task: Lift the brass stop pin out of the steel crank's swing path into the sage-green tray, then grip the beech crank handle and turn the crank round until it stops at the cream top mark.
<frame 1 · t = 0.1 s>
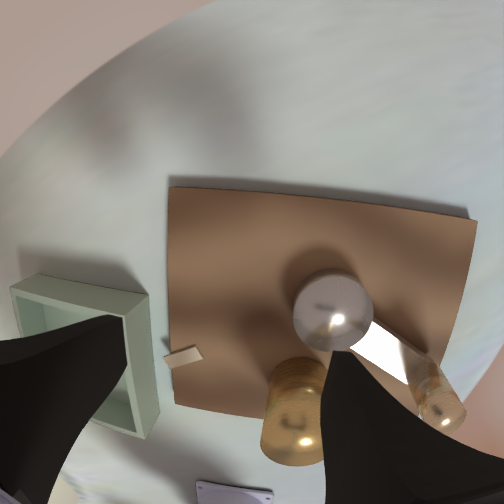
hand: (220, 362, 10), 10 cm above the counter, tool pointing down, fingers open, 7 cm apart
tray: (94, 346, 23), on the counter
crank: (384, 359, 15), point 4 cm above the counter, hinge at 0.0°
crank base: (316, 324, 20), on the counter
stop pin: (299, 380, 20), point 1 cm above the counter, touching crank base
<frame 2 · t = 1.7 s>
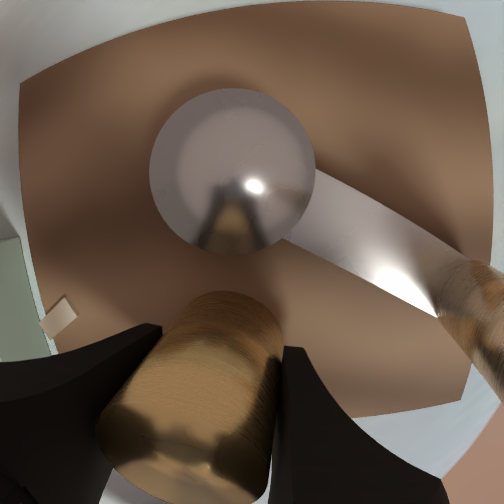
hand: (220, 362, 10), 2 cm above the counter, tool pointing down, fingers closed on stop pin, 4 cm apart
crank: (361, 241, 7), point 4 cm above the counter, hinge at 0.0°
crank base: (236, 229, 11), on the counter
stop pin: (228, 341, 11), point 1 cm above the counter, touching crank base, gripper
when the fingers open (4 cm above the counter, at t = 5.4 s): stop pin drops 2 cm, resting on tray.
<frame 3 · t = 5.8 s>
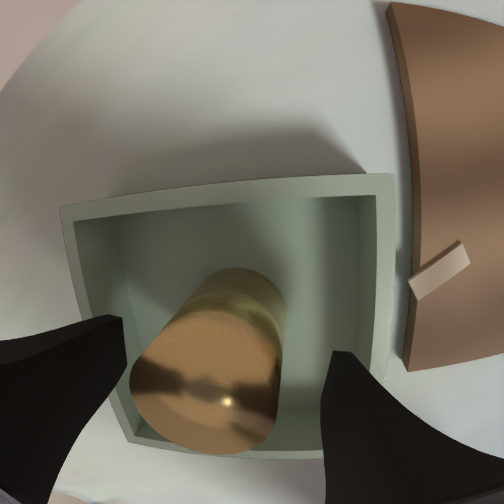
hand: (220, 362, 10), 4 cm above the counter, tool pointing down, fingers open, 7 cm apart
tray: (239, 313, 14), on the counter
stop pin: (238, 313, 13), resting on tray
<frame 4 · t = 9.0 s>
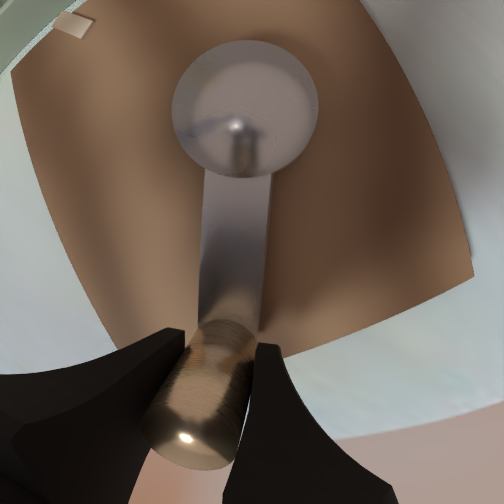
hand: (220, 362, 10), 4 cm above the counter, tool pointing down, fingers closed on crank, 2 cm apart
crank: (223, 228, 8), point 4 cm above the counter, hinge at 0.0°, touching gripper
crank base: (203, 133, 12), on the counter
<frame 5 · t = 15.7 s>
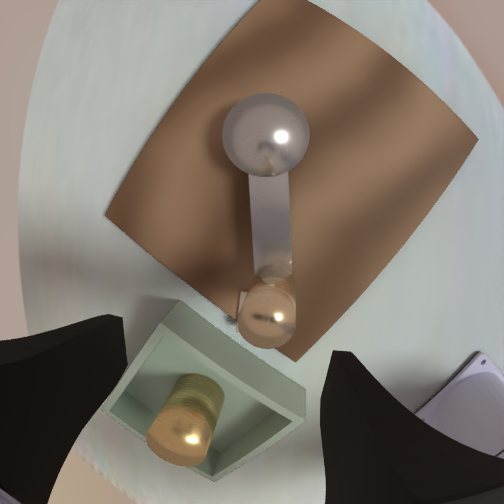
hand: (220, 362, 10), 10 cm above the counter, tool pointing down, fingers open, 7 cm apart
tray: (203, 391, 23), on the counter
crank: (267, 205, 15), point 4 cm above the counter, hinge at 109.5°
crank base: (291, 167, 18), on the counter
stop pin: (199, 393, 22), resting on tray
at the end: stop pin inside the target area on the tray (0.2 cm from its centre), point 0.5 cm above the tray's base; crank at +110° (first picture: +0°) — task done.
